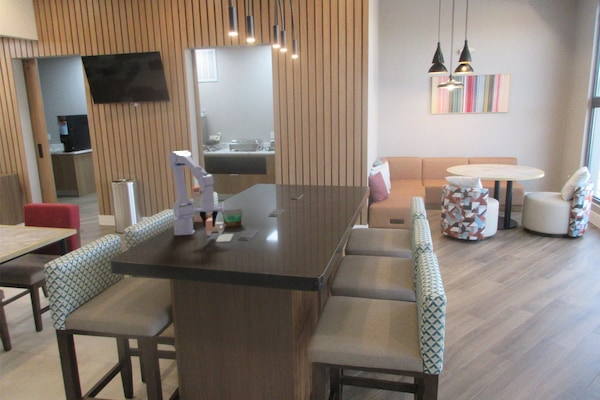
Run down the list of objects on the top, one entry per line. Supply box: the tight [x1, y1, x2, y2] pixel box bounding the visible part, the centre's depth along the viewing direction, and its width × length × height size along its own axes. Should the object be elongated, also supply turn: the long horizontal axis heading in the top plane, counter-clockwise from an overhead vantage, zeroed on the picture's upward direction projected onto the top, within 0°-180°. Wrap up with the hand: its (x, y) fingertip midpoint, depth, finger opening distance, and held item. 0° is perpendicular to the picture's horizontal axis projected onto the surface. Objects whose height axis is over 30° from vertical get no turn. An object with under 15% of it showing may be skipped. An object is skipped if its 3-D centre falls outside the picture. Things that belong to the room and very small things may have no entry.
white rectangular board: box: [215, 233, 234, 243], centre depth 216 cm, size 7×13×1 cm, turn 2°
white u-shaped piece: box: [206, 221, 226, 237], centre depth 229 cm, size 7×13×4 cm, turn 2°
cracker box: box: [191, 185, 213, 223], centre depth 258 cm, size 14×6×21 cm, turn 168°
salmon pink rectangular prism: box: [205, 217, 217, 232], centre depth 215 cm, size 3×10×5 cm, turn 2°
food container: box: [220, 207, 244, 229], centre depth 239 cm, size 12×6×10 cm, turn 105°
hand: (209, 226), depth 212 cm, fingers closed on salmon pink rectangular prism, 3 cm apart
